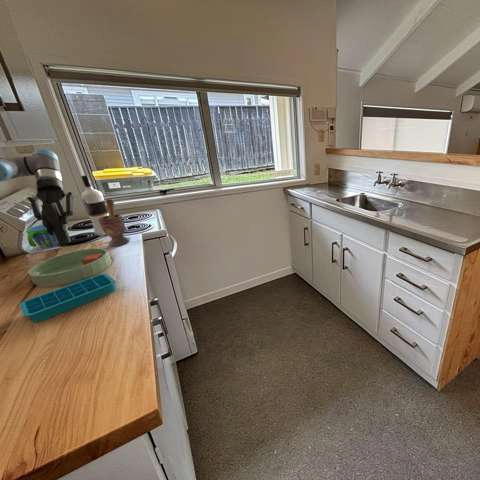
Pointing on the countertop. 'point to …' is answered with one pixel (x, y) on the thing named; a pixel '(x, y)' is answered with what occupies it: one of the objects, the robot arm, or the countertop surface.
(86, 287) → the ice cube tray
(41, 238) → the green blue printed package
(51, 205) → the dark grey bar
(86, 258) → the block
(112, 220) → the mortar and pestle
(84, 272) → the bowl
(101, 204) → the vodka
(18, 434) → the countertop surface
